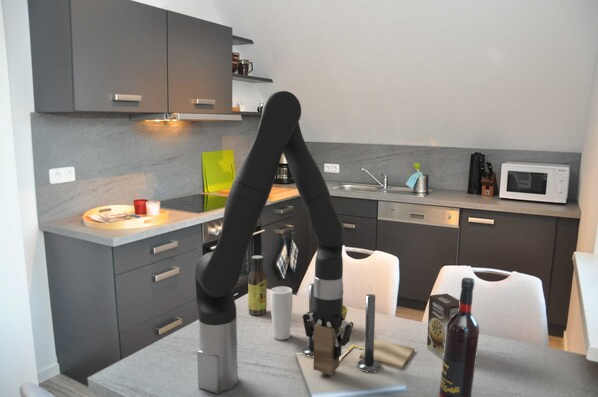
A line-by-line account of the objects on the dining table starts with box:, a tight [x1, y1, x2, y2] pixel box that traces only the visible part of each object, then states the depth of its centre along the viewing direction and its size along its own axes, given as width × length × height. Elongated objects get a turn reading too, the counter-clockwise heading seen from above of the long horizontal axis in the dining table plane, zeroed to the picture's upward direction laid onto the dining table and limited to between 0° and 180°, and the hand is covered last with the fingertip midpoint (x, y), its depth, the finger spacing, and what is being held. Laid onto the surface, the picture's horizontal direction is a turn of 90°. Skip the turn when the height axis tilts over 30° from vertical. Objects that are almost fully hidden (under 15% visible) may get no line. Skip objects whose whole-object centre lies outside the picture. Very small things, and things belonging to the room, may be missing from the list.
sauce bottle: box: [247, 255, 268, 316], centre depth 163 cm, size 6×6×20 cm
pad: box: [359, 338, 415, 370], centre depth 135 cm, size 12×12×1 cm
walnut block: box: [312, 324, 340, 375], centre depth 124 cm, size 5×5×12 cm
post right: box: [357, 293, 381, 373], centre depth 127 cm, size 6×6×20 cm
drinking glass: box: [269, 285, 294, 341], centre depth 145 cm, size 7×7×15 cm
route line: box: [345, 344, 365, 352], centre depth 135 cm, size 12×5×1 cm, turn 151°
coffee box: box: [426, 293, 461, 360], centre depth 135 cm, size 9×6×16 cm
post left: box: [302, 283, 316, 356], centre depth 135 cm, size 6×6×20 cm
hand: (326, 355), depth 124 cm, fingers closed on walnut block, 5 cm apart
